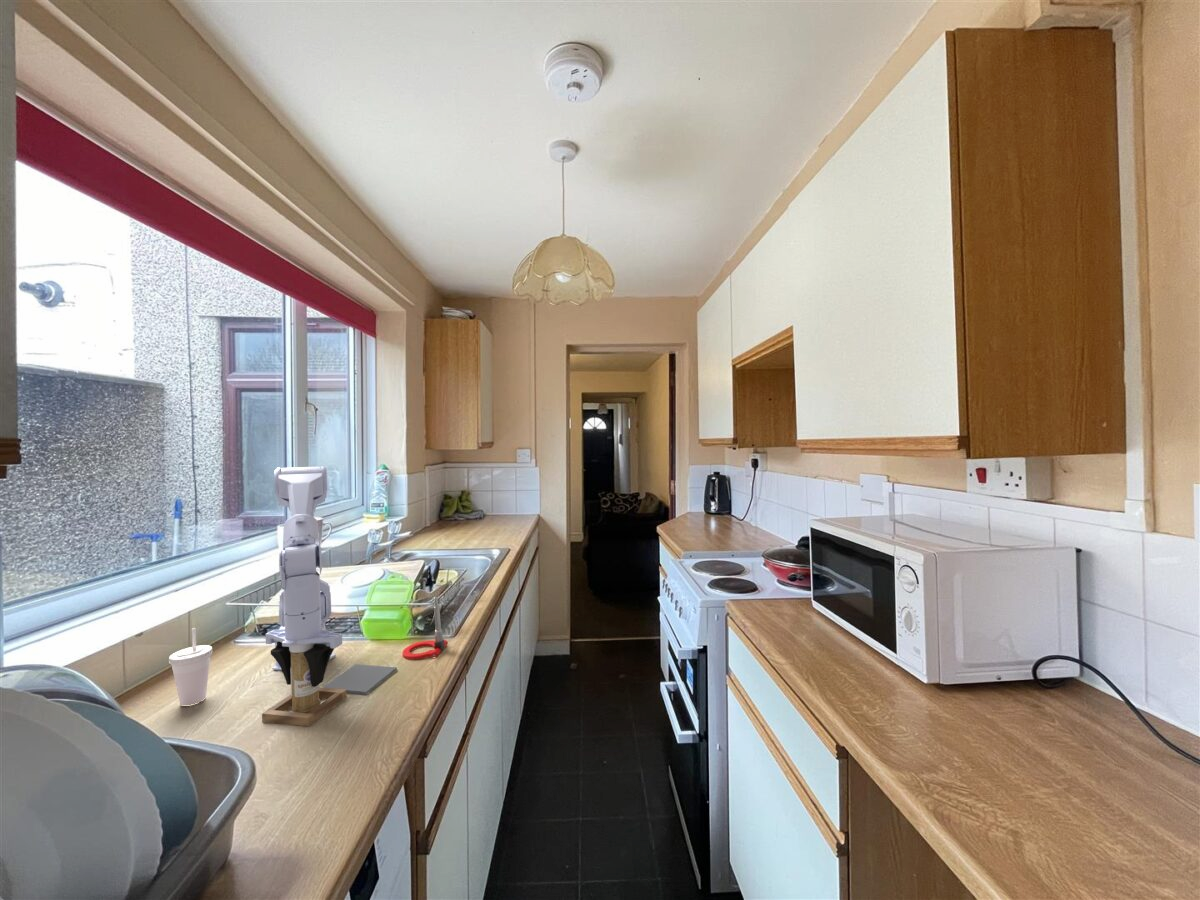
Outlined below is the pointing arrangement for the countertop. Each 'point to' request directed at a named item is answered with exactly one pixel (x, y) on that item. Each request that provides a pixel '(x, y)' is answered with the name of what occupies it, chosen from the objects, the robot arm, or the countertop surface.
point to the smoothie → (191, 671)
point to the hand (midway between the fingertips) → (305, 682)
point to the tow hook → (437, 644)
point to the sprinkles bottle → (302, 681)
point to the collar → (304, 719)
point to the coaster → (361, 678)
